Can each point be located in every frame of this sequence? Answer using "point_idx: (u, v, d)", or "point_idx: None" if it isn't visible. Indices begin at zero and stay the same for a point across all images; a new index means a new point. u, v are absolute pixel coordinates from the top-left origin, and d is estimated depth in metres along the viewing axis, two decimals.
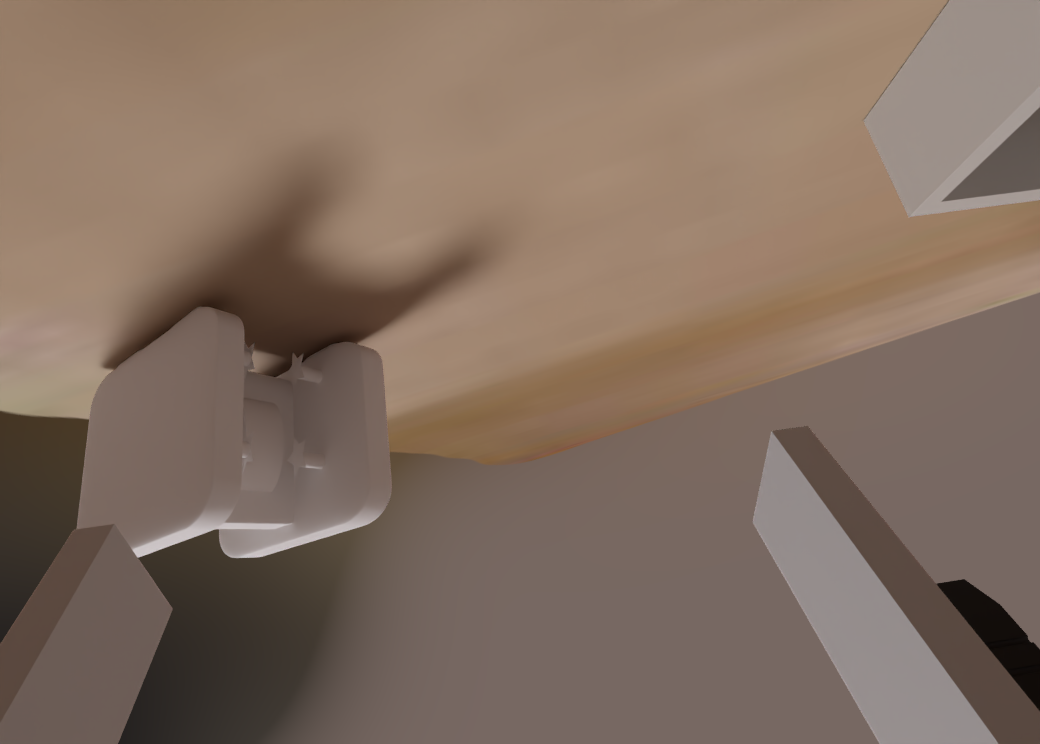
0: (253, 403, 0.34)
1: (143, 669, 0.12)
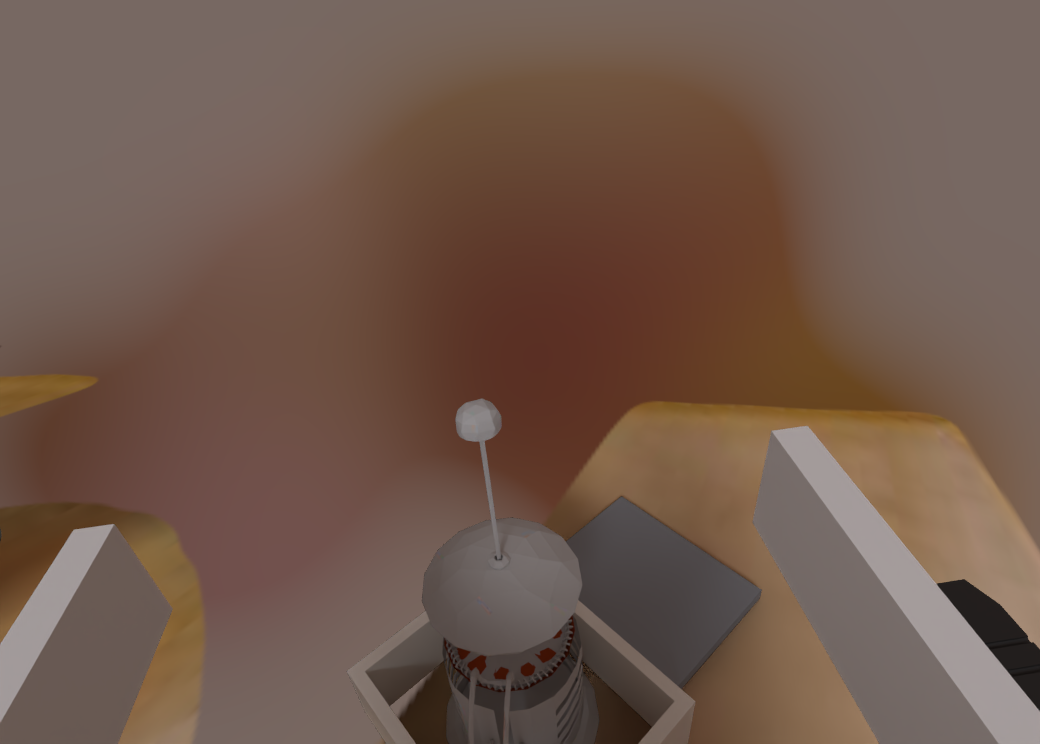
0: None
1: (143, 668, 0.12)
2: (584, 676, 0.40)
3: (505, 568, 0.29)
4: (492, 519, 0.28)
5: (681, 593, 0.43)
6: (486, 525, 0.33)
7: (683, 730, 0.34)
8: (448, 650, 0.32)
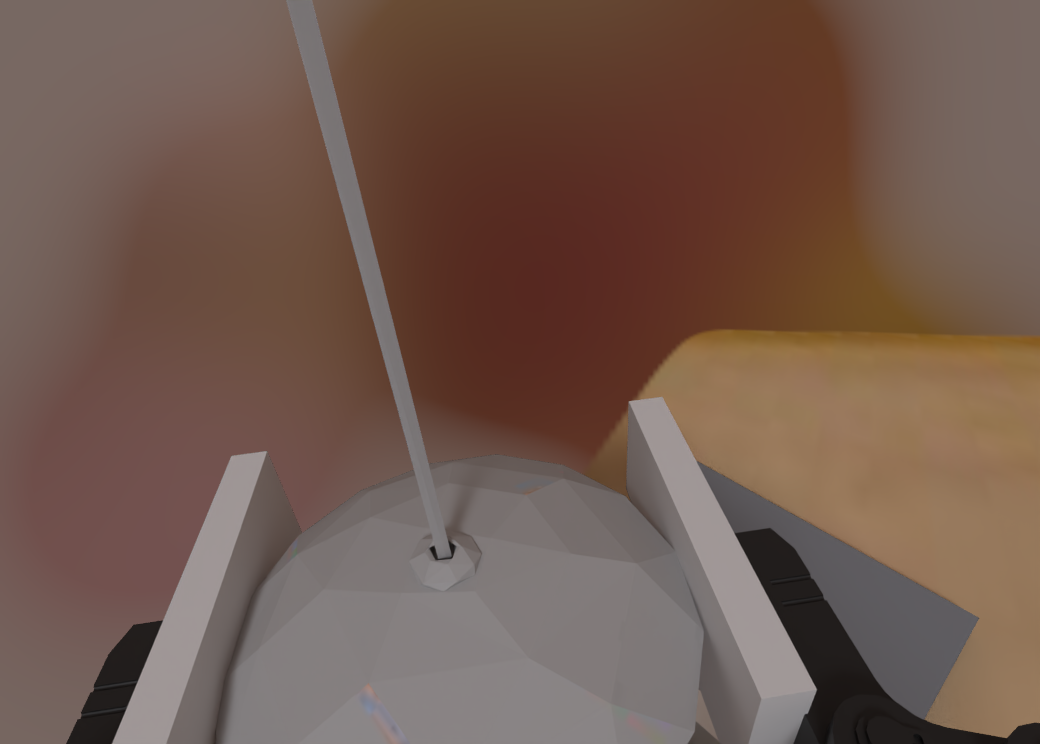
0: None
1: None
2: None
3: (463, 585, 0.09)
4: (402, 411, 0.08)
5: None
6: None
7: None
8: None
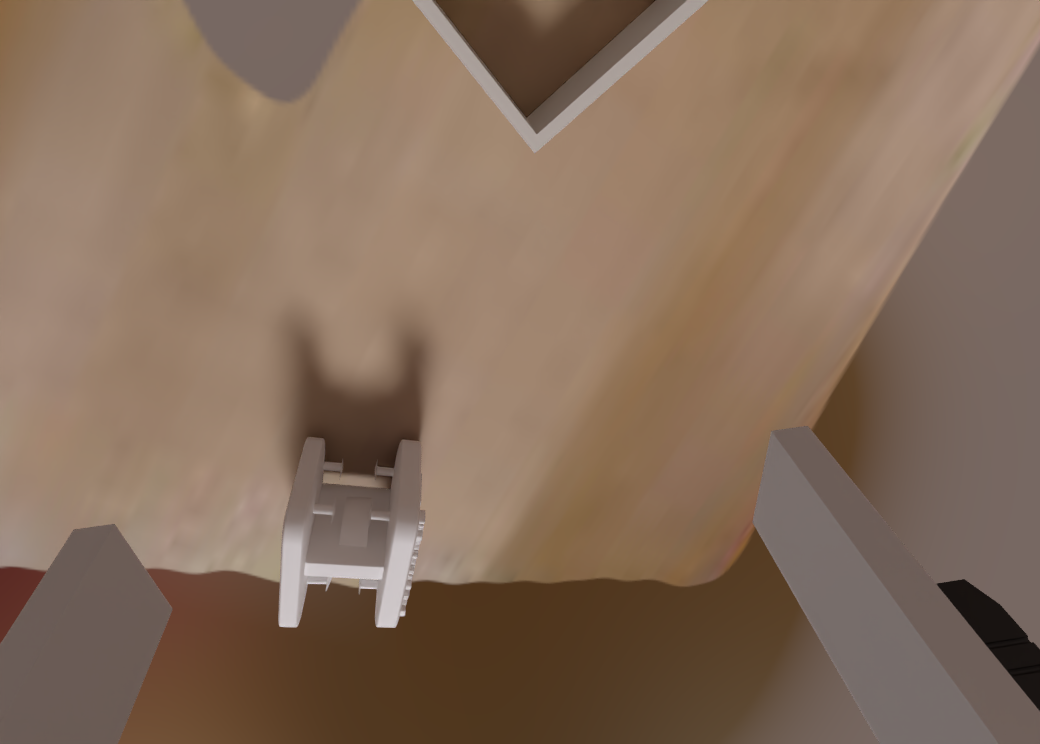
0: (354, 497, 0.53)
1: (143, 668, 0.12)
2: None
3: None
4: None
5: None
6: None
7: None
8: None
